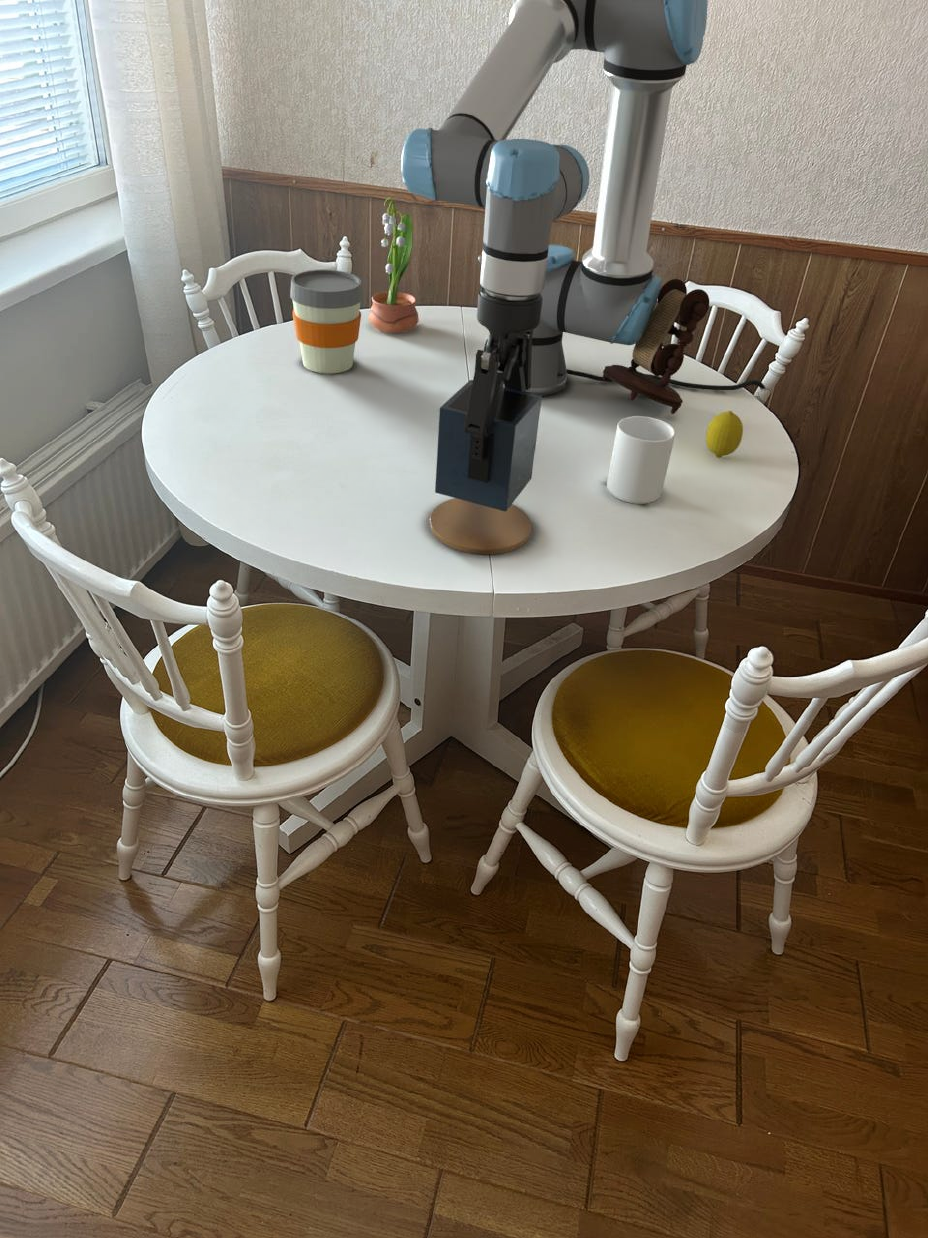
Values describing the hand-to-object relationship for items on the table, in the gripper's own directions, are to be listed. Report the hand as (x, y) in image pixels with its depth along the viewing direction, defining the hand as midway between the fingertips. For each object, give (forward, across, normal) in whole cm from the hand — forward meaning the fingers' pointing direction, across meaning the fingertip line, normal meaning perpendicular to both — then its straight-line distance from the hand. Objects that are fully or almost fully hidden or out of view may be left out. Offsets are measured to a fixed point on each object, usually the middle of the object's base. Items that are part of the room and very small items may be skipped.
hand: (493, 461), depth 121 cm
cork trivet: (+10, 0, -1) cm, 10 cm away
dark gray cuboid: (-2, 0, -6) cm, 6 cm away
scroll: (+8, -50, +8) cm, 51 cm away
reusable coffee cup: (+10, -39, -47) cm, 62 cm away
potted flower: (+10, -61, -45) cm, 77 cm away
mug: (+10, -22, +14) cm, 28 cm away
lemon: (+10, -39, +25) cm, 48 cm away
